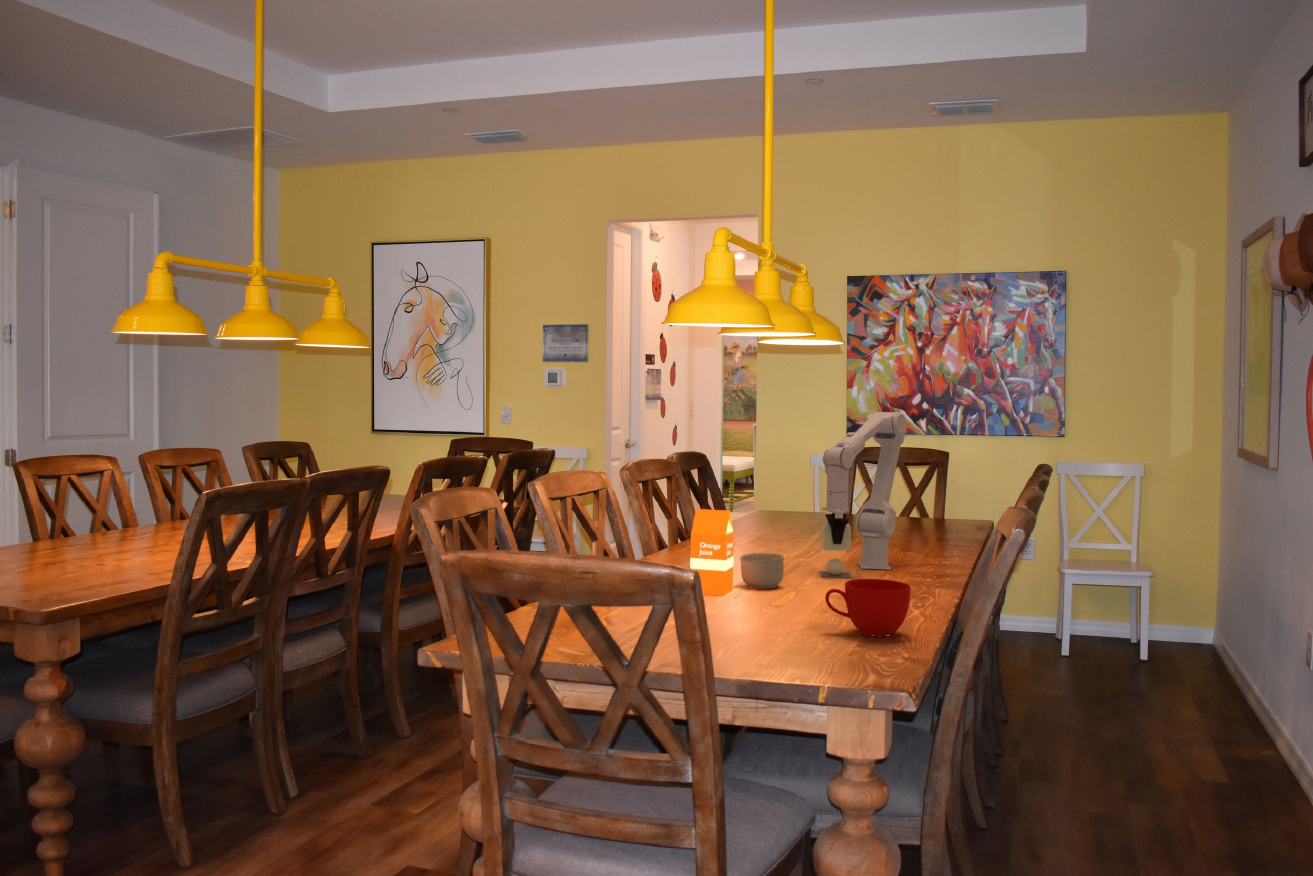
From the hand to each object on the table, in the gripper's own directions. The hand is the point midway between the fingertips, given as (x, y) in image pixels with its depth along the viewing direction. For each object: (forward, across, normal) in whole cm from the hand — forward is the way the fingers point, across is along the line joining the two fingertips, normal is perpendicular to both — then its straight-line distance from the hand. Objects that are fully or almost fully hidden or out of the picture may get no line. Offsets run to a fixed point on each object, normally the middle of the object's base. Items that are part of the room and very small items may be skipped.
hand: (836, 542), depth 276 cm
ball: (+7, 0, 0) cm, 7 cm away
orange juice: (+9, +29, -32) cm, 44 cm away
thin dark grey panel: (+9, 0, 0) cm, 9 cm away
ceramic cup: (+9, +68, +1) cm, 69 cm away
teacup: (+9, +19, -20) cm, 29 cm away
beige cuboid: (+2, 0, 0) cm, 2 cm away
